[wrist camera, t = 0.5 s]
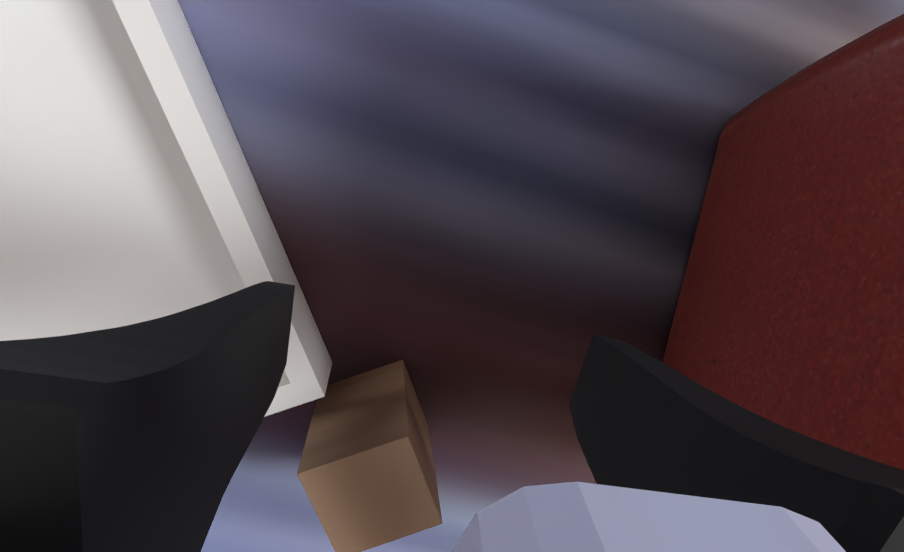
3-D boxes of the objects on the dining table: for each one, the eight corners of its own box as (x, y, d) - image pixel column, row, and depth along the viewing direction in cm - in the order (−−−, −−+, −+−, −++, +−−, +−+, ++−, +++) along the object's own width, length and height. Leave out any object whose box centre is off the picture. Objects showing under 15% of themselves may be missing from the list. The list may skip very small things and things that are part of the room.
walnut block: (350, 456, 24) (339, 559, 18) (319, 387, 23) (297, 474, 17) (429, 429, 24) (442, 523, 18) (402, 359, 23) (407, 436, 17)
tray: (29, 463, 22) (-23, 513, 19) (-270, 34, 16) (-408, 14, 14) (332, 362, 22) (324, 396, 20) (139, -90, 17) (89, -134, 14)
